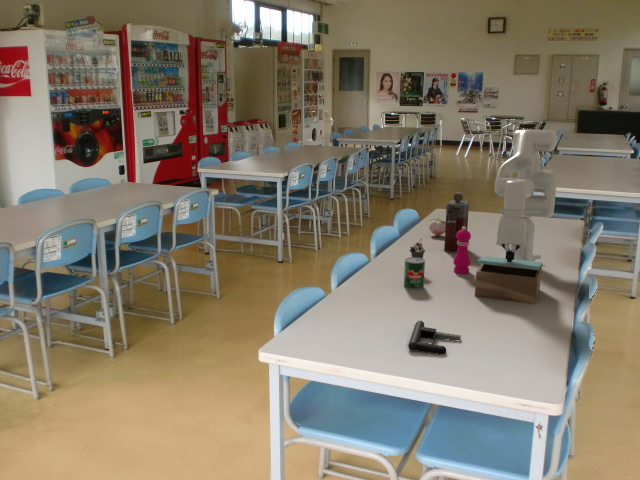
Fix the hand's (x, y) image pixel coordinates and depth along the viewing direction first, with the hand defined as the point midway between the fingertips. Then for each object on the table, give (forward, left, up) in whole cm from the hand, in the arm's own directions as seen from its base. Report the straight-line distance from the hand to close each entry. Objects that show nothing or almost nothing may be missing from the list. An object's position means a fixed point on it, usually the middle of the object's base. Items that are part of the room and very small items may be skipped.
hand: (509, 261), depth 243 cm
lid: (-1, -1, -2) cm, 3 cm away
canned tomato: (+28, -22, -14) cm, 38 cm away
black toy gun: (+50, +29, -14) cm, 59 cm away
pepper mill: (-1, -32, -14) cm, 34 cm away
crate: (-2, -2, -13) cm, 14 cm away
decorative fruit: (-26, -91, -14) cm, 95 cm away
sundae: (+18, -37, -14) cm, 43 cm away
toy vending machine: (-18, -63, -14) cm, 67 cm away
